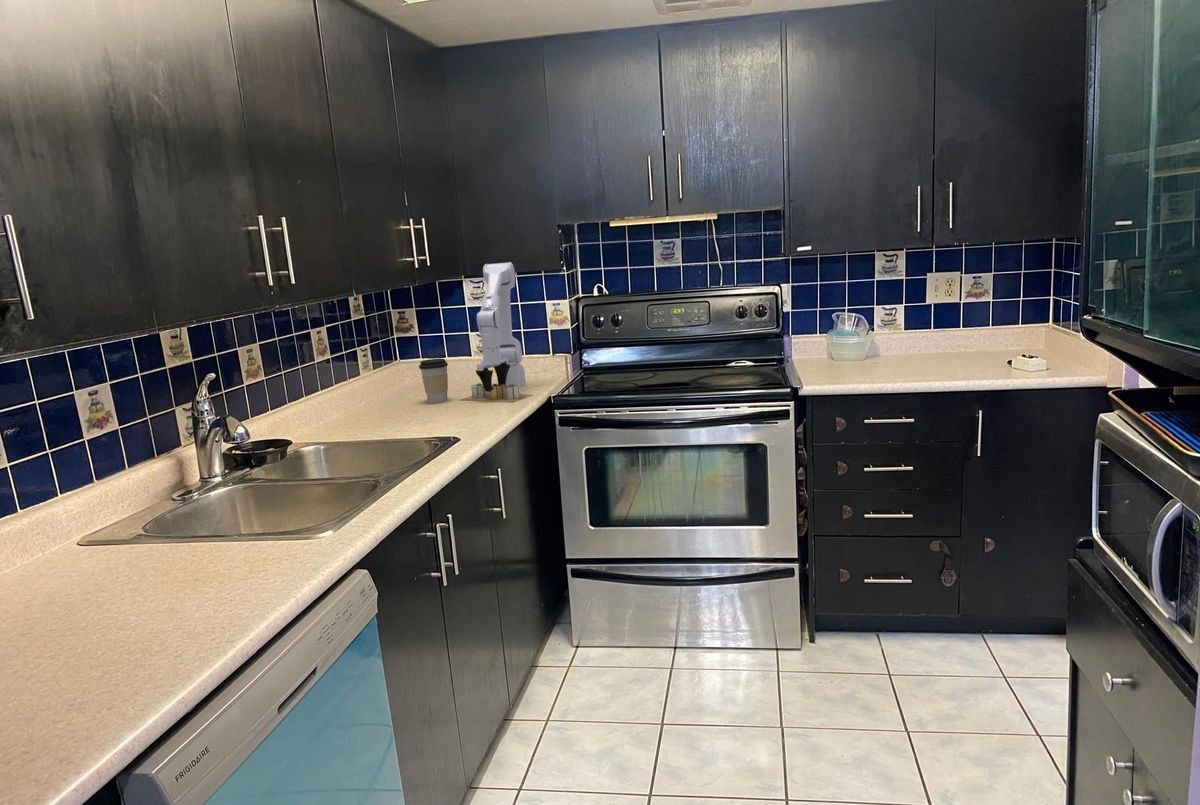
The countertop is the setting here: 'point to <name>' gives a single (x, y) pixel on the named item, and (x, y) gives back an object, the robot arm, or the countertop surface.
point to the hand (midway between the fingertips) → (495, 388)
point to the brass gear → (496, 392)
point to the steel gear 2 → (511, 392)
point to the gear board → (494, 399)
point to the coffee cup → (435, 379)
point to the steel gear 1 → (478, 392)
